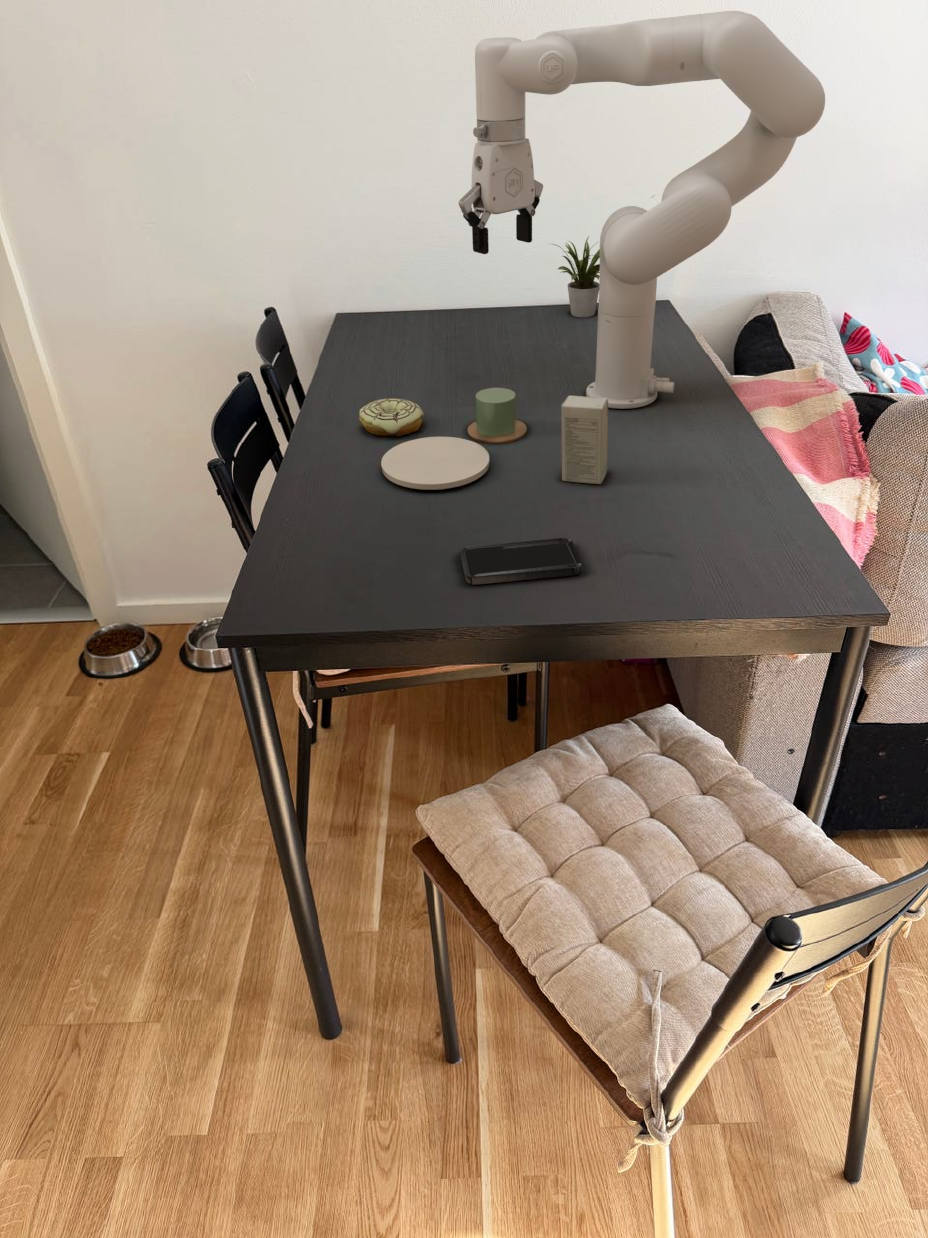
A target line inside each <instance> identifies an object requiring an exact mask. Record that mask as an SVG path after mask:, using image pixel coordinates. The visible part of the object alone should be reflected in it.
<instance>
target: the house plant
mask: <svg viewBox="0 0 928 1238" xmlns="http://www.w3.org/2000/svg"><path fill="white" fill-rule="evenodd" d="M589 237H590V235H588V236H587V237H586V240H585V243H584V247H583V251H582V259H579V256H578V252H577V248H576V246H575V244H574V243H573V242H572V241H570V240H568V239H567V242H569V243H570V244H571V245H572V247H573V248H572V247H571V245H570V244H568V243H567V242H565V247H566V248H567V249H568V250H567V251H566V250H563V248H562V247H561V246H559V245H558V244H554V243H552V246H556V247H559V248H560V249H562V250H563V253H565V254H566V255H567V256H566V255H562V257H563V258H564V259H565V260H566V261H567V262H568V264H569V265H570V268H571V269H570V268H569V267H567V266H564V265H561V266H559V267H558V268H557V270H562V271H560V272H559V273H563V274H565V273H568V274H569V275H570V277H571V282H569V283H567V285H566V286H567V292H568V300H569V307H570V314H571V316H573V317H577V318H590V317H592V316H595V314H596V308H597V303H598V300H599V284H600V282H597V281H595V279H597V280H598V281H600V263H598V261H599V260H600V248H599V249H598V250H597V251H596V252H595V253H594V254H590V253H591V249H592V248H593V247H594V246H595V244H593V245H592V246H591V247H590V244H589V242H588V240H589ZM598 243H599V241H597V242H596V244H598ZM547 244H548V245H549V243H547ZM568 254H569V255H570V257H571V258H572V259H573V261H572V260H571V258H570V257H569V256H568ZM591 256H593V257H592V258H591ZM589 261H590V263H589ZM573 262H574V263H573ZM596 263H597V264H596Z"/></svg>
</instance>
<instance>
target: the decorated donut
mask: <svg viewBox="0 0 928 1238" xmlns="http://www.w3.org/2000/svg"><path fill="white" fill-rule="evenodd" d="M424 417H425V416H424V411H423V410H422V408H421V407H420V406H419V405H418V404H417V403H415V402H413V401H411V400H408V399H404V398H395V397H394V398H389V397H388V398H381V399H376V400H373V401H371V402H369V403H367V404H366V405H364V406H363V407H362V408H360V409H359V421H360V423H361V424H362V426H363V428H364V429H365V430H366V431H367V432H369V433H370V434H372V435H376V436H383V437H388V436H389V437H395V436H396V437H401V436H404V435H409V434H411V433H414V432H417V431H419V429H420V427H421V426H422V424H423V418H424Z"/></svg>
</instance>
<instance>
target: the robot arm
mask: <svg viewBox="0 0 928 1238" xmlns="http://www.w3.org/2000/svg"><path fill="white" fill-rule="evenodd" d="M474 71H475V72H474V74H475V75H474V77H475V79H474V80H475V108H476V109H475V110H476V112H475V113H476V127H474V128H473V130H472V133H473V136H474V137H475V138H476V142H475V143H474V148H473V156H472V165H471V166H472V168H471V188H470V190H469V191H468V192H466V193H465V194H464V195H463V196H462V197H461V198H460V199H459V201H458V207H459V209H460V212H461V213H462V217H463V218H464V220H465V221H466V222H467V224H468V226H469V227H471V232H472V233H471V234H472V238H471V239H472V251H473V252H474V253H477V254H481V255H487V254H489V252H490V250H489V249H490V248H489V244H490V243H489V229H488V228H489V227H486V225H487V223H488V221H489V219H490V217H491V215H501V214H505V213H510V212H514V211H518V213H519V214H516V217H515V218H516V219H515V225H516V226H515V227H516V228H515V232H516V233H515V237H516V240H517V241H519V242H524V243H528V244H529V243H532V242H533V217H534V216H535V215H536V209H537V208H538V206H539V204H540V198H541V196H542V192H543V189H544V184H543V183H542V182H540V181H538V180H536V179H535V170H534V169H535V168H534V159H533V158H534V157H533V152H532V146H531V143H530V139H529V138H527V137H526V93H529V94H530V93H531V94H539V95H547V96H548V95H549V96H551V95H558V94H560V93H563V92H564V91H565V90H567V89H568V88H569V87H570V86H571V85H579V84H591V83H619V84H625V85H630V86H633V87H634V86H635V87H655V86H663V85H671V84H680V83H690V82H691V83H692V82H701V81H712V80H721V81H722V82H723V83H724V84H725V86H726V87H727V88H728V89H729V91H731V92H732V93H733V94H734V96H736V97H737V98H738V100H740V101H741V102H742V103H743V104H744V105H745V106H746V107H747V109H749V110H750V112H749V116H748V118H747V120H746V122H745V124H744V126H743V127H742V128H741V130H740V131H739V132H737V134H736V135H734V136H733V137H732V138H731V139H730V140H729V141H727V142H726V143H725V144H723V145H722V146H720V147H719V148H718V149H716V150H715V151H713V152H712V153H710V154H708V155H707V156H706V157H704V158H702V159H701V160H699V161H698V162H697V163H695V164H694V165H692V166H690V167H688V168H687V169H685V170H684V171H682V172H680V173H678V174H677V175H676V176H674V177H673V178H672V179H671V180H670V181H669V182H668V183H667V184H666V186H665V187H664V189H663V192H662V195H661V201H660V202H659V203H657V204H655V206H653V207H652V208H649V209H648V210H647V209H645V208H643V207H640V206H637V205H626V206H623V207H621V208H618V209H616V210H614V211H613V212H612V213H611V214H610V215H609V216H608V218H607V219H606V221H605V222H604V224H603V226H602V228H601V232H600V236H599V237H600V238H599V249H600V258H599V264H600V271H599V272H600V273H599V276H600V277H599V294H598V309H597V332H596V354H595V355H596V356H595V378H594V379H595V380H594V381H593V382H591V383H589V385H587V387H586V389H585V396H586V397H601V398H608V409H620V410H627V409H637V408H641V407H645V406H648V405H650V404H652V403H653V402H655V400H656V399H657V398H658V393H660V392H661V393H663V394H673V393H674V391H675V382H674V381H670V380H671V379H670V377H658V376H657V375H654V374H655V368H653V367H652V366H651V363H652V349H653V339H654V325H655V311H656V302H657V290H658V289H657V287H658V284H657V283H658V277H660V276H662V275H663V274H665V273H667V272H668V271H670V270H672V269H673V268H675V267H676V266H678V265H680V264H681V263H683V262H685V261H686V260H689V259H690V258H691V257H693V256H694V255H696V254H697V253H699V252H700V251H702V250H704V249H705V248H708V246H710V245H711V244H713V242H715V240H717V239H718V238H719V237H720V235H722V233H724V231H725V230H726V228H727V226H728V224H729V222H730V219H731V216H732V207H734V206H735V205H737V204H738V203H740V202H741V201H743V200H744V199H746V198H747V197H749V196H750V195H751V194H753V193H754V192H755V191H757V190H758V189H760V188H761V187H762V186H764V185H765V184H766V183H768V182H769V181H770V180H771V179H772V178H773V177H774V176H775V175H777V174H778V172H779V171H780V170H781V169H782V167H783V166H784V165H785V163H786V161H787V159H788V158H789V156H790V154H791V153H792V150H793V148H794V146H795V144H796V141H797V139H798V138H799V137H801V136H805V135H806V134H807V133H809V132H810V131H811V130H812V129H814V128H815V127H816V125H817V124H818V123H819V122H820V120H821V118H822V117H823V114H824V111H825V106H826V93H825V89H824V87H823V85H822V83H821V81H820V80H819V78H818V77H817V75H815V74H814V73H813V72H812V71H811V70H810V68H808V67H807V66H806V65H805V64H804V63H803V62H802V61H801V60H800V59H799V58H798V57H797V55H795V54H794V53H793V52H792V51H791V50H790V49H789V48H788V47H787V46H786V45H785V44H784V43H783V42H782V41H781V39H779V38H778V37H777V35H776V34H775V33H774V32H773V31H772V30H771V29H770V28H769V27H768V26H767V24H765V22H763V21H762V19H760V18H759V17H758V16H756V15H753V14H752V13H748V12H744V11H739V10H724V11H717V12H715V11H714V12H706V13H705V12H704V13H697V14H688V15H679V16H670V17H660V18H649V19H641V20H635V21H634V20H633V21H628V22H624V23H616V24H609V25H600V26H599V25H598V26H597V25H596V26H588V27H579V28H569V29H559V30H551V31H548V32H547V31H546V32H544V33H541V34H540V35H538V36H537V37H536V38H535V39H528V40H522V39H521V38H520V39H519V38H517V37H508V36H507V37H503V36H502V37H490V38H485V39H481V40H480V41H478V42H477V44H476V46H475V49H474Z"/></svg>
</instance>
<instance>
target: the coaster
mask: <svg viewBox="0 0 928 1238" xmlns="http://www.w3.org/2000/svg"><path fill="white" fill-rule="evenodd" d="M527 432H528V428H527V425H526V424H525V423H524V422H522V421H521V420H518V419H516V430H515V431H514V432H513V433H512V434H510V435H507V436H502V437H488V436H484V435H481V434H479V433H478V432H477V426H476V420H475V421H473V422H472V423H470V424H469V425H468V427H467V435H468V436H469V437H470V438H471V439H472V440H474V441H477V442H481V443H485V444H506V443H510V442H515V441H517V440H520V439H522V438H523V437H524V436H526V435H527Z"/></svg>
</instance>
